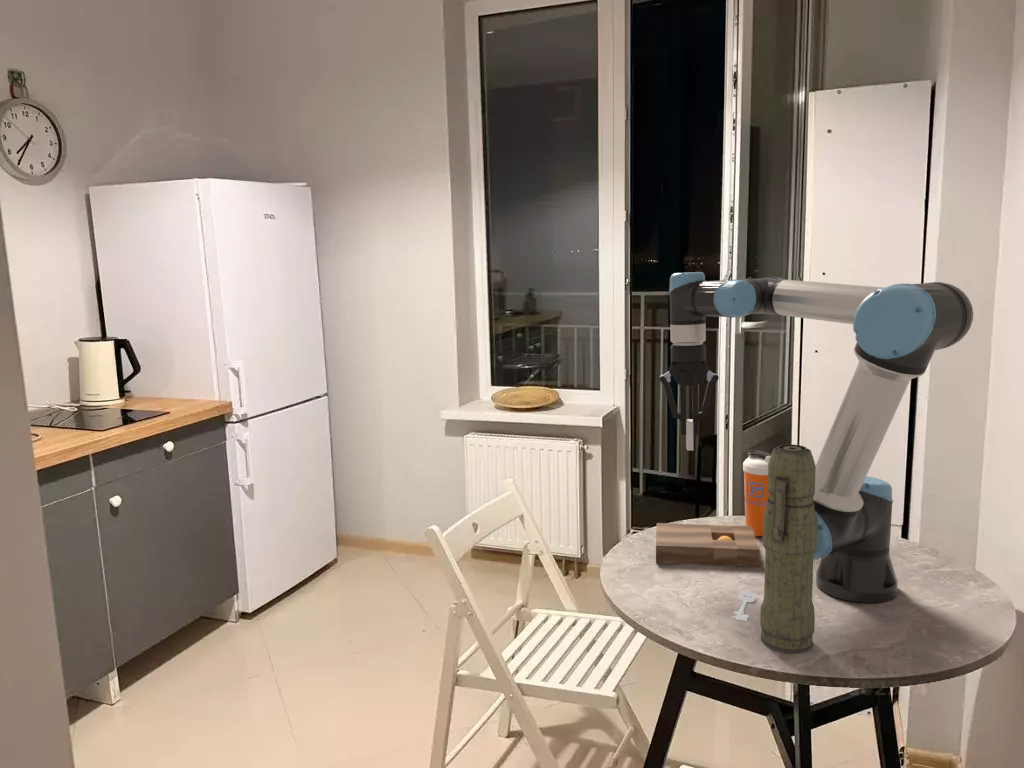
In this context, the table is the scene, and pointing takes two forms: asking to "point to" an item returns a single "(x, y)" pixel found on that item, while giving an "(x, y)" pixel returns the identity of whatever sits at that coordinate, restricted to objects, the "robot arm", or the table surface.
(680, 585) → the table surface
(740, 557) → the board
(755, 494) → the shaker bottle
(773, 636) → the thermos
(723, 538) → the ball
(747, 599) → the key
